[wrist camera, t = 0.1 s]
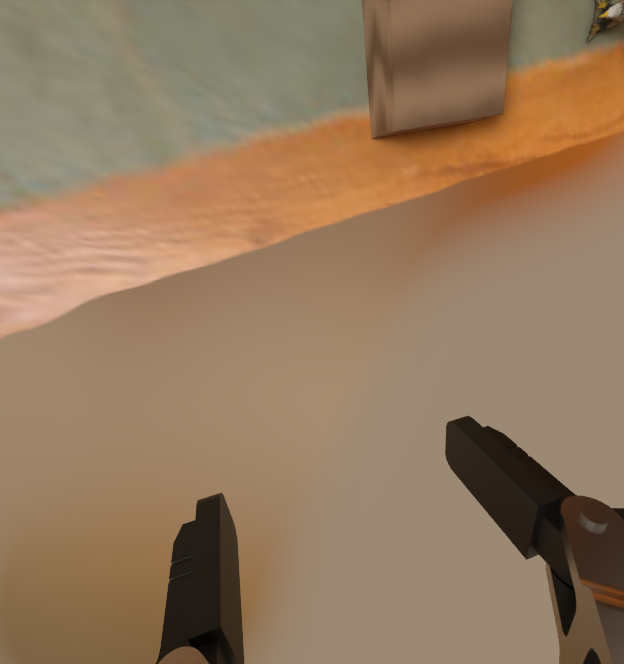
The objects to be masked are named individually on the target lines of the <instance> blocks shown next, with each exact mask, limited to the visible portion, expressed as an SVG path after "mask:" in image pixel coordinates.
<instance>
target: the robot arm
mask: <svg viewBox="0 0 624 664" xmlns="http://www.w3.org/2000/svg"><path fill="white" fill-rule="evenodd" d="M445 450H446V451H445V453H446V459H447V462H448V464H449V466H450V468H451V469H452V470H453V472H454V473H455V474H456V475H457V477H458V478H459V479H460V480H461V481H462V483H463V484H464V485H465V486H466V487H467V489H468V490H469V491H470V492H471V494H472V495H473V496H474V497H475V498H476V499H477V501H478V502H479V503H480V504H481V506H482V507H483V508H484V509H485V510H486V511H487V512H488V514H489V515H490V516H491V518H492V519H493V520H494V521H495V522H496V524H497V525H498V526H499V527H500V528H501V529H502V531H503V532H504V533H505V534H506V536H507V537H508V538H509V539H510V540H511V542H512V543H513V544H514V545H515V546H516V548H517V549H518V550H519V551H520V552H521V554H522V555H523V556H524V557H525V558H526V559H529V558H532V557H534V556H536V555H540V556H541V557H542V558H543V559H544V560H545V561H546V574H547V579H548V584H549V590H550V595H551V600H552V606H553V611H554V616H555V622H556V627H557V632H558V638H559V647H560V655H559V664H624V508H622V509H621V508H618V509H617V508H610V507H609V506H608V505H606V504H604V503H603V502H600V501H598V500H596V499H593V498H590V497H586V496H577V495H575V494H574V493H573V492H571V491H570V490H569V489H568V488H567V487H565V486H564V485H563V484H562V483H561V482H560V481H558V480H557V479H556V478H555V477H554V476H553V475H551V474H550V473H549V472H548V471H547V470H546V469H544V468H543V467H542V466H541V465H540V464H539V463H537V462H536V461H535V460H534V459H533V458H532V457H529V456H528V454H527V453H526V452H525V451H523V450H522V449H521V448H520V447H517V445H516V444H515V443H514V442H513V441H512V440H511V439H509V438H508V437H507V436H506V435H505V434H503V433H501V432H499V431H497V430H495V429H493V428H491V427H489V426H486V427H482V426H481V425H480V424H479V423H477V422H476V421H475V420H474V419H473V418H472V417H470V416H466V417H462V418H459V419H456V420H453V421H450V422H448V423H447V426H446V449H445ZM171 563H172V566H171V568H170V576H169V579H170V582H169V584H168V593H167V601H166V608H165V617H164V625H163V632H162V640H161V648H160V653H159V656H158V660H157V662H156V664H244V650H243V632H242V614H241V596H240V578H239V559H238V543H237V535H236V529H235V525H234V522H233V519H232V517H231V514H230V511H229V509H228V506H227V504H226V501H225V498H224V496H223V494H222V493H219V494H216V495H213V496H210V497H207V498H203V499H200V500H198V501H197V507H196V520H195V521H192V522H189V523H186V524H183V525H182V527H181V529H180V531H179V533H178V535H177V537H176V539H175V541H174V544H173V552H172V560H171Z"/></svg>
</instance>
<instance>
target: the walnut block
mask: <svg viewBox="0 0 624 664" xmlns="http://www.w3.org/2000/svg"><path fill="white" fill-rule="evenodd" d="M362 8H363V22H364V37H365V51H366V66H367V80H368V95H369V109H370V124H371V138H372V139H374V138H380V137H386V136H392V135H399V134H405V133H411V132H417V131H423V130H429V129H436V128H442V127H448V126H454V125H460V124H466V123H470V122H474V121H478V120H482V119H485V118H489V117H493V116H497V115H501V114H503V111H504V98H505V85H506V73H507V60H508V48H509V35H510V23H511V10H512V0H362Z"/></svg>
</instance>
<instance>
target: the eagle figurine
mask: <svg viewBox="0 0 624 664" xmlns="http://www.w3.org/2000/svg"><path fill="white" fill-rule="evenodd" d="M595 1H596V12H595V16H594V22H593V24H592V28H591V30H590V34H589V36H588V38H587V40H586V43H588V42H589V41H590V40H591V39H592V38H593V37H594V36H595V35H596V33H597V30H599V29H601V30H604V29H607V28H610V27H614V26H616V25H617V24H620V23H624V0H620V1H618V2H617V3H616V4H609V3H610V1H611V0H595ZM607 18H611V19H610V20H608V21H606V22H604V21H605V20H606V19H607Z"/></svg>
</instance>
